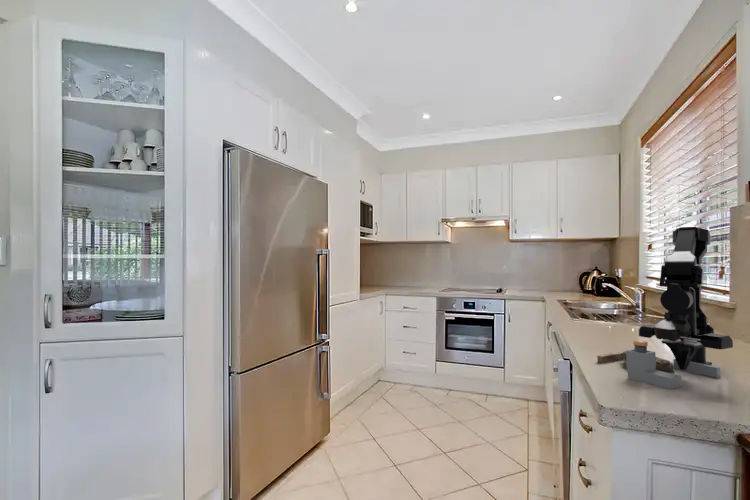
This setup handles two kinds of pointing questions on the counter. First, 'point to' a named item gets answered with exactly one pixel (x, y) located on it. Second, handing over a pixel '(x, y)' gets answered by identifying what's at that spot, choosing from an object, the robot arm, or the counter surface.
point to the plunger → (640, 346)
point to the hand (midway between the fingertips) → (683, 370)
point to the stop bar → (609, 357)
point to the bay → (645, 371)
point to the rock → (660, 363)
